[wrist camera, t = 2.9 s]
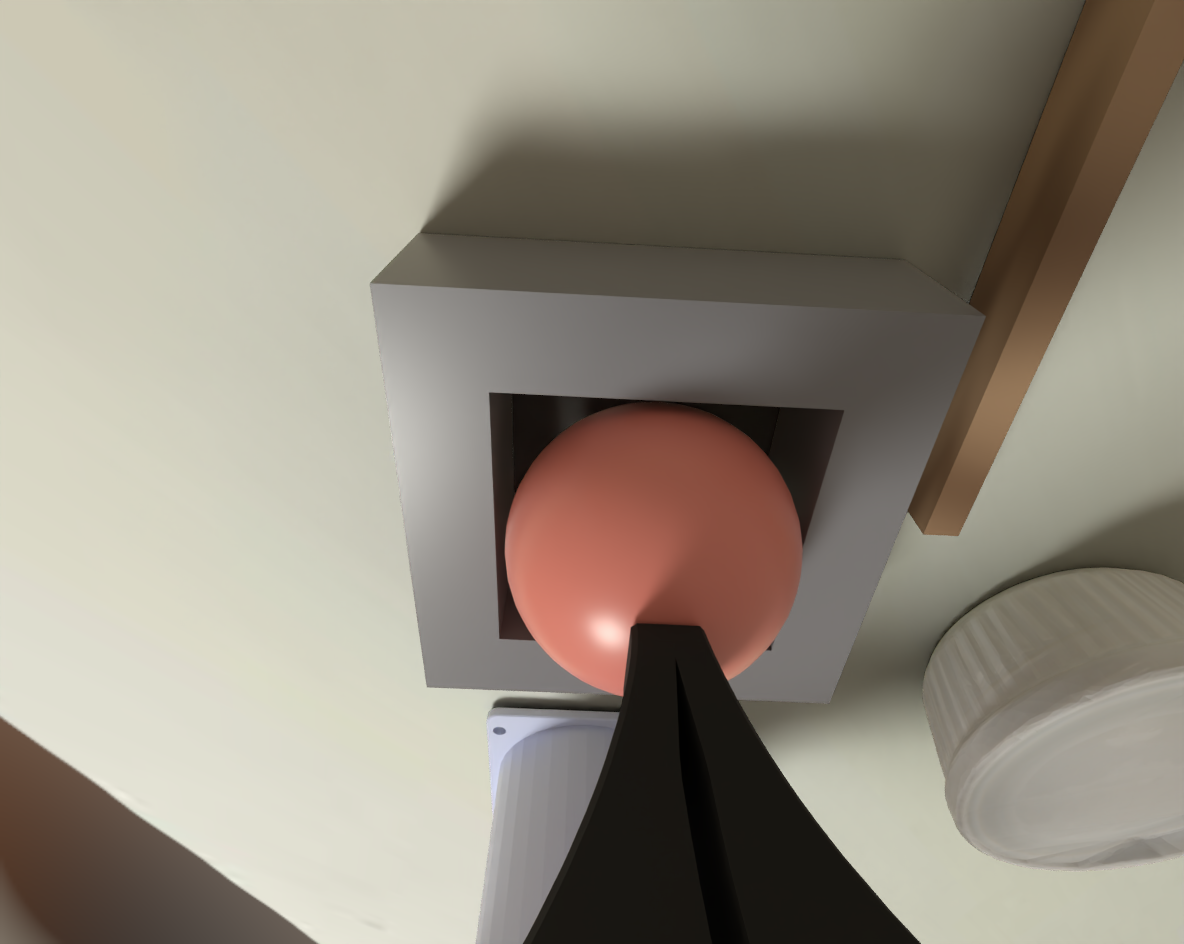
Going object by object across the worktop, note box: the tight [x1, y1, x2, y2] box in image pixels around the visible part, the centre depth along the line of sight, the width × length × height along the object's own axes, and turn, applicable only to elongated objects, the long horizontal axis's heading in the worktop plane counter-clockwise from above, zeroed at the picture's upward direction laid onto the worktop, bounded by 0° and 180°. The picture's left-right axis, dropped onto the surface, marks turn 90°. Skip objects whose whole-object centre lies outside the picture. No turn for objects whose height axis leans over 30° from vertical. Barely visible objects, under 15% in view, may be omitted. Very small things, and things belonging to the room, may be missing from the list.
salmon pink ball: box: [505, 402, 803, 696], centre depth 15 cm, size 7×7×7 cm
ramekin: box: [922, 568, 1184, 871], centre depth 22 cm, size 11×11×5 cm
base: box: [370, 233, 986, 704], centre depth 17 cm, size 12×12×4 cm
